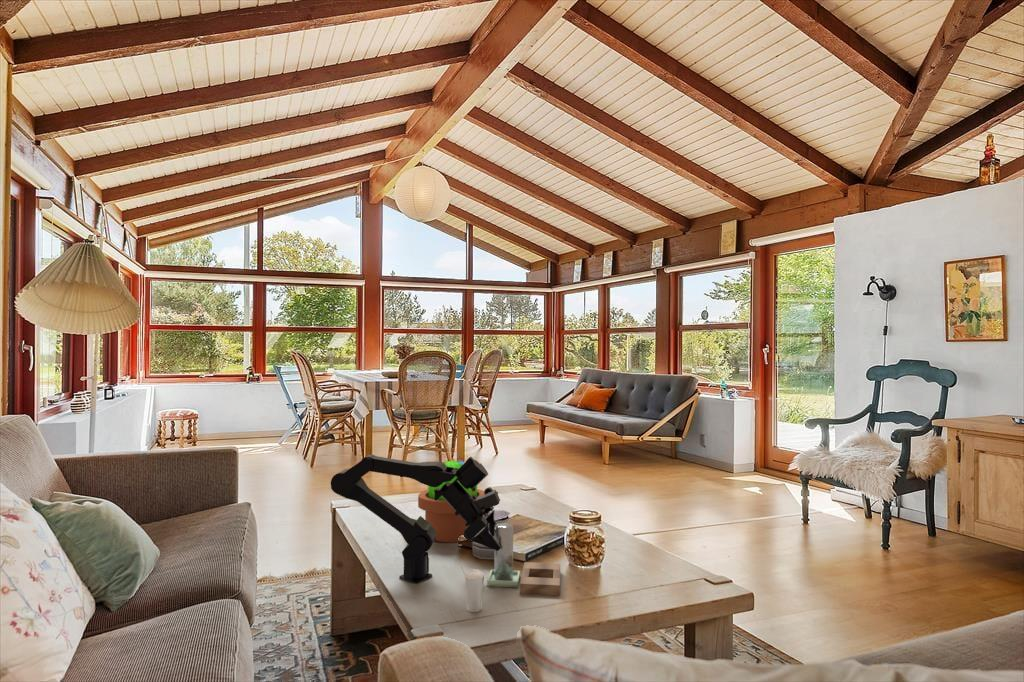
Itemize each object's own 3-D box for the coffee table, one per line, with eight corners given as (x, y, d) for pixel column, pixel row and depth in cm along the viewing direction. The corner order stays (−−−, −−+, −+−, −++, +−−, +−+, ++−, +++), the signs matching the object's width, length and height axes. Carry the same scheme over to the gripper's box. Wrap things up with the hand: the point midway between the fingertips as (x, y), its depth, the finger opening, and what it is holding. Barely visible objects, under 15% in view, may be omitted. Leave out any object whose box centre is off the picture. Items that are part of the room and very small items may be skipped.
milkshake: (461, 605, 152) (461, 564, 152) (483, 605, 152) (483, 563, 152) (461, 613, 147) (461, 570, 148) (484, 613, 148) (484, 570, 148)
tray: (487, 586, 164) (487, 580, 164) (490, 575, 172) (490, 569, 172) (517, 587, 164) (517, 581, 164) (520, 576, 172) (520, 570, 172)
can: (504, 561, 184) (505, 519, 184) (467, 558, 186) (467, 517, 186) (512, 548, 195) (513, 509, 195) (476, 546, 197) (477, 507, 197)
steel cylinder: (505, 583, 165) (506, 529, 165) (490, 579, 167) (490, 526, 168) (516, 578, 169) (516, 525, 169) (501, 574, 172) (501, 522, 172)
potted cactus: (405, 540, 202) (406, 462, 203) (438, 522, 223) (439, 451, 223) (467, 549, 194) (468, 467, 194) (496, 530, 214) (496, 456, 215)
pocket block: (519, 593, 160) (520, 583, 160) (524, 571, 176) (524, 562, 176) (559, 595, 159) (559, 585, 159) (560, 572, 175) (560, 563, 175)
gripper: (477, 488, 160) (520, 534, 158) (486, 473, 178) (525, 514, 177) (446, 517, 160) (488, 563, 159) (458, 500, 179) (496, 541, 178)
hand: (501, 544), depth 168 cm, fingers open, 9 cm apart
